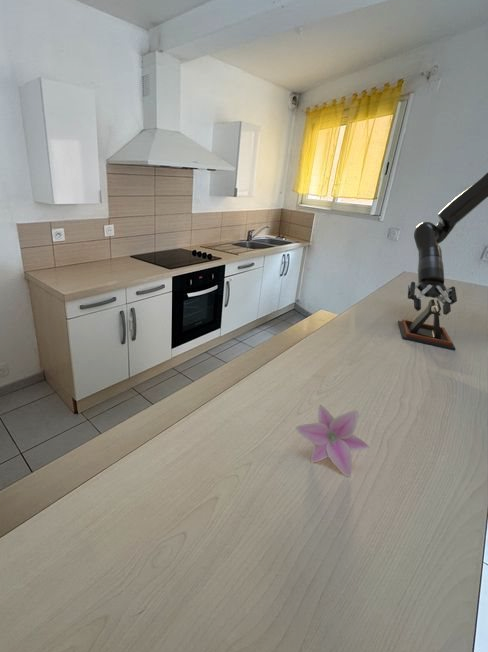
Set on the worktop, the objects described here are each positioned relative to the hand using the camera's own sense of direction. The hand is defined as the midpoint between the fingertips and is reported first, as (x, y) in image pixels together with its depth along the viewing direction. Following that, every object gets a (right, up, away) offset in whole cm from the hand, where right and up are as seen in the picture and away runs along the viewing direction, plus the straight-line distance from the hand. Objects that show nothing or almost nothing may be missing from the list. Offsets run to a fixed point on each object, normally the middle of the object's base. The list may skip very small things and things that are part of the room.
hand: (432, 311), depth 112 cm
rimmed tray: (-1, -8, +3) cm, 9 cm away
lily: (-58, -27, -48) cm, 80 cm away
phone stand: (-1, -8, +3) cm, 8 cm away
